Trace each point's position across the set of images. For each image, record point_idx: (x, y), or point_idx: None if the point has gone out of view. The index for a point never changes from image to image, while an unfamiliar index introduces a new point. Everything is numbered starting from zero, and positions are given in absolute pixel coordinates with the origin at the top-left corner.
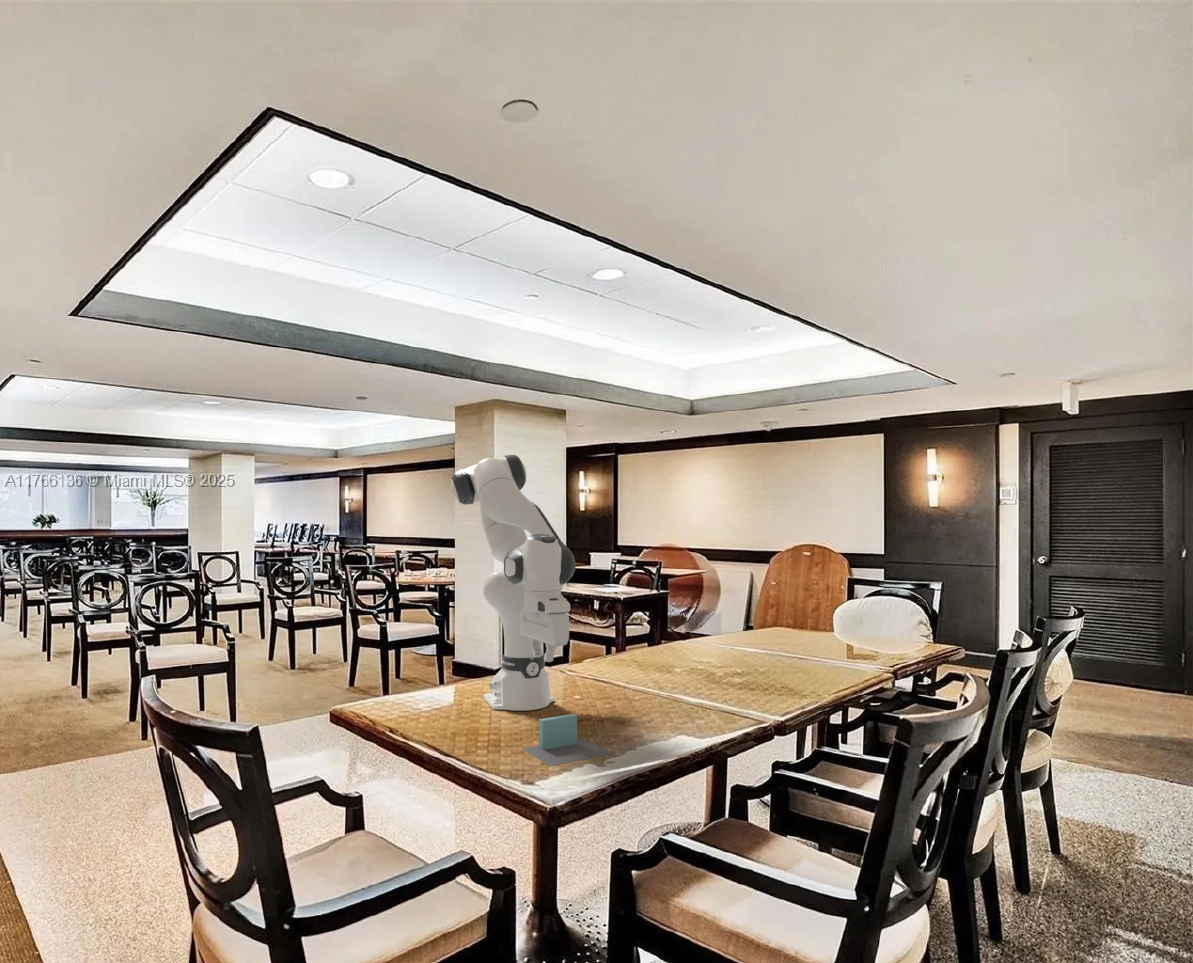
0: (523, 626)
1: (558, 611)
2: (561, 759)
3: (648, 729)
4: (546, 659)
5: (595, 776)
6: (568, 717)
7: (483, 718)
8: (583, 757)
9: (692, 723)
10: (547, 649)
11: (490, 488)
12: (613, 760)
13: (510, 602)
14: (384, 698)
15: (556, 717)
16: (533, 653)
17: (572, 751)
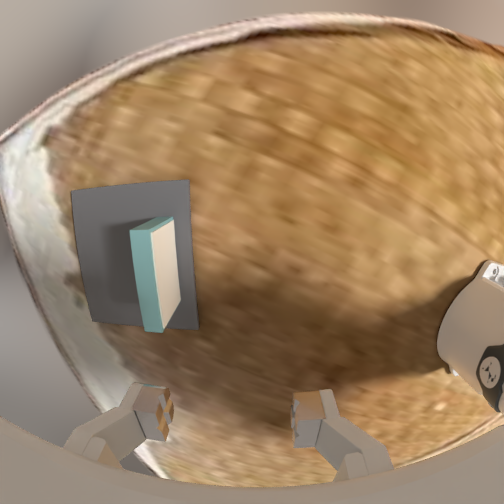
0: (498, 491)
1: None
2: (90, 226)
3: (214, 429)
4: (130, 388)
5: (36, 246)
6: (141, 308)
7: (461, 216)
8: (87, 267)
9: (214, 467)
10: (88, 426)
11: None
12: (83, 309)
13: None
14: None
15: (146, 280)
16: (323, 401)
17: (123, 267)
